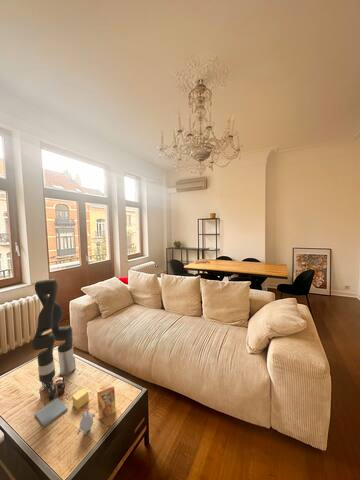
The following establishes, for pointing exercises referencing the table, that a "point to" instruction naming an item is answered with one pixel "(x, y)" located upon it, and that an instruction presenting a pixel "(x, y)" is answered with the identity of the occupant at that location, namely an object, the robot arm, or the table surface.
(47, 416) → the slate baseplate
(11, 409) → the table surface
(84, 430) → the toy figure
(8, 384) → the table surface
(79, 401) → the mustard brick
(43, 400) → the walnut brick
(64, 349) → the robot arm
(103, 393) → the candy box
